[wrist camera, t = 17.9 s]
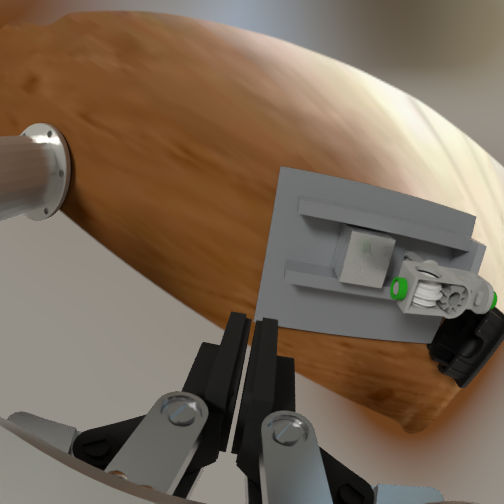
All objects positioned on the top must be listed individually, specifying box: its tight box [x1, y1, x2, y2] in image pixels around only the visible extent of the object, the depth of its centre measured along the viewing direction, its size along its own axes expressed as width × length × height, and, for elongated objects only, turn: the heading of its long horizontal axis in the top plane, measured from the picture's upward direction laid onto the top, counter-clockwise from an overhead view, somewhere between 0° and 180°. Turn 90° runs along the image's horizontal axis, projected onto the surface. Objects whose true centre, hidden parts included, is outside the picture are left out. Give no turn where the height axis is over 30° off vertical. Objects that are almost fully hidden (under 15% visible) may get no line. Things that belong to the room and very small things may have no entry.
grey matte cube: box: [332, 222, 396, 288], centre depth 25 cm, size 4×4×4 cm
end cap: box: [427, 307, 504, 388], centre depth 26 cm, size 10×7×7 cm
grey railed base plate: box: [254, 166, 486, 344], centre depth 26 cm, size 22×16×5 cm
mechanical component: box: [390, 249, 497, 319], centre depth 22 cm, size 3×10×10 cm, turn 83°
